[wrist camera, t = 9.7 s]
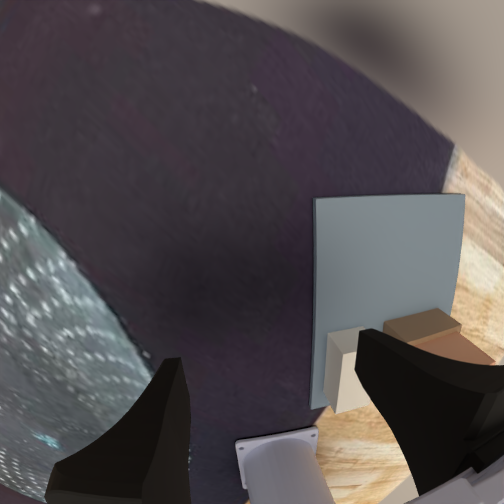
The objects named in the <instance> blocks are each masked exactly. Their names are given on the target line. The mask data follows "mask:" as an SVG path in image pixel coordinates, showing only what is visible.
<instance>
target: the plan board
mask: <svg viewBox="0 0 504 504" xmlns="http://www.w3.org/2000/svg"><path fill="white" fill-rule="evenodd" d="M464 211H465V194H390V195H361V196H338V197H319V198H313V233H314V294H313V336H312V361H311V381H310V398H309V406H310V409H311V410H312V409H316V408H320V407H325V406H329V405H331V407H332V409H333V411H334V412H335V414H338V413H342V412H346V411H350V410H353V409H357V408H360V407H364V406H367V405H369V404H370V398H369V396H368V395H367V393H366V392H365V390H364V389H363V387H362V385H361V383H360V381H359V379H358V377H357V374H356V372H355V370H354V368H355V360H356V353H357V345H358V336H359V331H361V330H365V329H370V328H373V329H376V330H378V331H381V332H383V333H385V334H388V335H390V336H392V337H394V338H396V339H399V340H401V341H403V342H405V343H408V344H410V345H412V346H414V345H417V344H420V343H424V342H427V341H430V340H433V339H436V338H439V337H442V336H445V335H448V334H451V333H453V332H456V331H457V332H459V333H460V331H461V327H462V324H460V323H459V322H457V321H456V320H455V319H453V318H452V317H450V314H451V309H452V304H453V299H454V294H455V288H456V282H457V276H458V269H459V262H460V254H461V246H462V236H463V225H464Z"/></svg>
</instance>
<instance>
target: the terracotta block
mask: <svg viewBox="0 0 504 504" xmlns="http://www.w3.org/2000/svg"><path fill="white" fill-rule="evenodd" d="M414 346H415V347H417V348H419V349H422V350H425V351H427V352H430V353H433V354H436V355H439V356H442V357H446V358H449V359H453V360H458V361H462V362H468V363H474V364H483V365H495V362H496V361H495V360H493V359H492V358H491V357H490V356H488V355H487V354H486V353H485V352H483V351H482V350H481V349H479V348H478V347H477V346H476V345H474V344H473V343H472V342H470V341H469V340H468V339H466V338H465V337H464V336H462V335H461V334H460V333H459V332H457V331H456V332H453V333H451V334H448V335H445V336H442V337H439V338H436V339H433V340H430V341H427V342H424V343H420V344H417V345H414Z"/></svg>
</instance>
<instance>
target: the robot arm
mask: <svg viewBox="0 0 504 504" xmlns="http://www.w3.org/2000/svg"><path fill="white" fill-rule="evenodd" d="M354 370H355V372H356V374H357V377H358V379H359V381H360V383H361V385H362V387H363V389H364V390H365V392H366V393H367V395H368V396H369V398H370V399H371V400H372V402H373V403H374V405H375V406H376V408H377V409H378V410H379V412H380V413H381V415H382V416H383V418H384V419H385V421H386V422H387V424H388V425H389V427H390V428H391V430H392V432H393V434H394V436H395V438H396V440H397V442H398V444H399V446H400V448H401V450H402V452H403V454H404V457H405V459H406V461H407V464H408V466H409V469H410V471H411V474H412V476H413V479H414V482H415V485H416V488H417V491H418V494H419V497H417V498H415V499H413V500H411V501H408V502H406V503H404V504H504V365H483V364H474V363H468V362H462V361H458V360H453V359H449V358H446V357H442V356H439V355H436V354H433V353H430V352H427V351H425V350H422V349H419V348H417V347H415V346H412V345H410V344H408V343H405V342H403V341H401V340H399V339H396V338H394V337H392V336H390V335H388V334H385V333H383V332H381V331H378V330H376V329H373V328H370V329H365V330H361V331H359V336H358V345H357V353H356V360H355V368H354ZM190 424H191V412H190V396H189V392H188V388H187V384H186V380H185V375H184V371H183V366H182V362H181V357H180V358H168V359H164V361H163V362H162V364H161V365H160V367H159V369H158V370H157V372H156V374H155V375H154V377H153V378H152V380H151V381H150V383H149V384H148V386H147V387H146V389H145V390H144V392H143V393H142V394H141V396H140V397H139V398H138V400H137V401H136V402H135V403H134V405H133V406H132V407H131V408H130V409H129V411H128V412H127V413H126V414H125V415H124V416H123V417H122V418H121V419H120V420H119V421H118V422H117V423H116V424H115V425H114V426H113V427H112V428H110V429H109V430H108V431H107V432H106V433H104V434H103V435H102V436H101V437H99V438H98V439H97V440H95V441H94V442H93V443H91V444H90V445H88V446H87V447H85V448H83V449H82V450H80V451H78V452H77V453H75V454H73V455H71V456H69V457H67V458H65V459H63V460H61V461H59V462H57V463H55V465H54V467H53V470H52V472H51V475H50V479H49V482H48V485H47V489H46V492H45V496H44V497H45V500H46V502H47V503H48V504H191V497H190V486H189V474H188V459H189V441H190ZM318 433H319V430H318V428H317V427H310V428H305V429H301V430H296V431H291V432H286V433H281V434H275V435H269V436H263V437H257V438H250V439H243V440H238V441H236V442H235V446H236V452H237V458H238V463H239V469H240V475H241V480H242V485H243V488H244V489H248V494H249V499H250V504H335V502H334V499H333V497H332V495H331V492H330V490H329V487H328V485H327V483H326V480H325V478H324V475H323V473H322V471H321V468H320V466H319V463H318V461H317V458H316V449H317V441H318Z"/></svg>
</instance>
